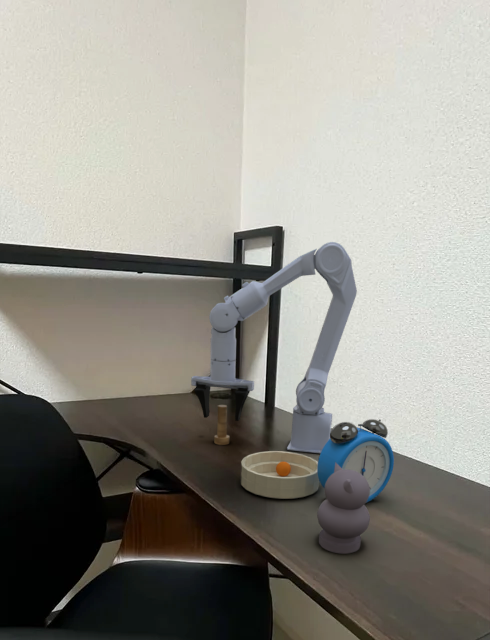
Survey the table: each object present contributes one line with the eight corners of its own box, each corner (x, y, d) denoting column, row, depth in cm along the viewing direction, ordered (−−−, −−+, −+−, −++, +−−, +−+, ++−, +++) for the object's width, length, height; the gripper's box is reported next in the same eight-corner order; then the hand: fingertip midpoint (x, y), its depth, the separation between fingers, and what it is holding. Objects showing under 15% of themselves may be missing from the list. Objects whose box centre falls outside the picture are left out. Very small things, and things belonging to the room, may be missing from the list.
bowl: (321, 476, 107) (323, 455, 105) (314, 505, 93) (316, 482, 91) (250, 468, 109) (250, 448, 107) (232, 495, 96) (232, 472, 94)
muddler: (230, 441, 126) (231, 404, 123) (227, 445, 123) (227, 408, 119) (216, 439, 127) (217, 403, 123) (212, 444, 124) (212, 406, 120)
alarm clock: (331, 512, 91) (341, 429, 85) (312, 498, 96) (319, 419, 90) (389, 500, 96) (401, 422, 90) (368, 488, 101) (378, 413, 95)
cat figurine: (373, 556, 77) (385, 481, 72) (321, 558, 76) (330, 482, 71) (356, 530, 84) (365, 461, 80) (309, 531, 83) (315, 461, 79)
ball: (291, 474, 106) (292, 460, 104) (289, 479, 103) (290, 465, 102) (276, 472, 106) (277, 458, 105) (274, 477, 103) (275, 463, 102)
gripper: (257, 359, 119) (255, 417, 125) (197, 354, 122) (197, 411, 127) (251, 364, 113) (249, 424, 118) (188, 359, 115) (188, 418, 121)
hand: (221, 418), depth 122 cm, fingers open, 7 cm apart
